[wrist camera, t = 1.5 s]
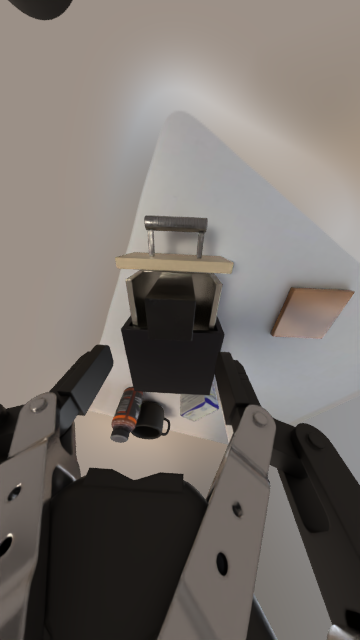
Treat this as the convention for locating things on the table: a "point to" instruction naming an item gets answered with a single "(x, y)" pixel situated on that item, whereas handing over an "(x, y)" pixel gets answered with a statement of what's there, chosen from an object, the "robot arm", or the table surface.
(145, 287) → the drawer
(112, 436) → the supplement bottle
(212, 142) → the table surface
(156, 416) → the mug
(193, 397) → the box
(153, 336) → the block
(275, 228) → the table surface
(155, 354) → the black storage cabinet
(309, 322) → the plate
